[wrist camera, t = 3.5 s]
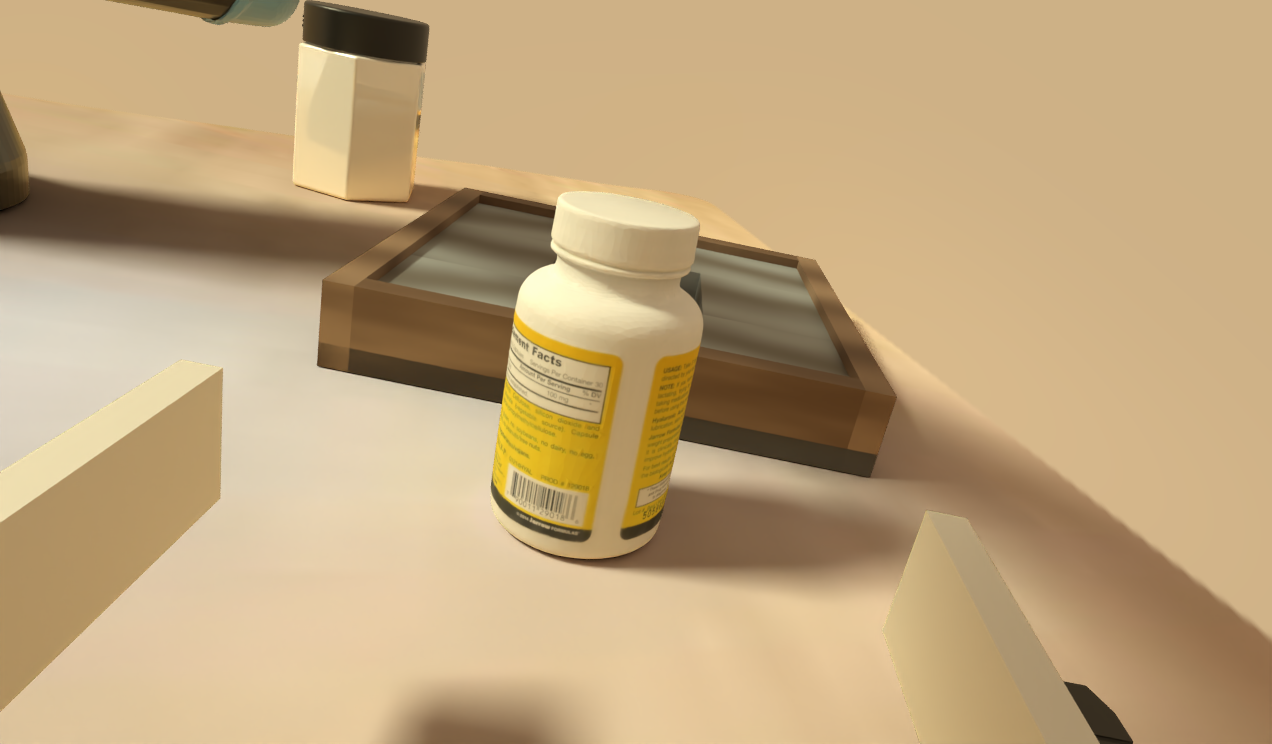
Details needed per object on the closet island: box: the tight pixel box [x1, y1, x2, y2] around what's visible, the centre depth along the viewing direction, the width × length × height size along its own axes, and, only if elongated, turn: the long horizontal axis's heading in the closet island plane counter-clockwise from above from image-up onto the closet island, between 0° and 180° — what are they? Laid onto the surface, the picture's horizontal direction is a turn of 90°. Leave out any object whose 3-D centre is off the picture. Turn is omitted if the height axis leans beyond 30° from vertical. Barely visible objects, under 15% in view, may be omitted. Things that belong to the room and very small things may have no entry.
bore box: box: [317, 188, 897, 477], centre depth 43 cm, size 22×22×4 cm
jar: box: [293, 0, 429, 202], centre depth 60 cm, size 9×8×12 cm
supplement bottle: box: [490, 191, 703, 559], centre depth 25 cm, size 5×5×10 cm
